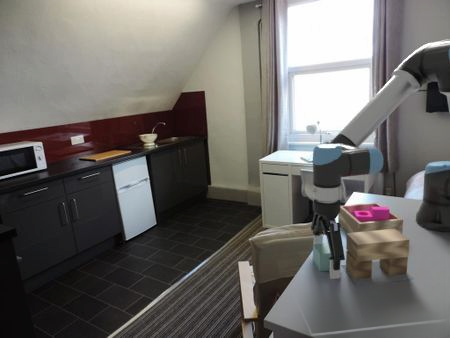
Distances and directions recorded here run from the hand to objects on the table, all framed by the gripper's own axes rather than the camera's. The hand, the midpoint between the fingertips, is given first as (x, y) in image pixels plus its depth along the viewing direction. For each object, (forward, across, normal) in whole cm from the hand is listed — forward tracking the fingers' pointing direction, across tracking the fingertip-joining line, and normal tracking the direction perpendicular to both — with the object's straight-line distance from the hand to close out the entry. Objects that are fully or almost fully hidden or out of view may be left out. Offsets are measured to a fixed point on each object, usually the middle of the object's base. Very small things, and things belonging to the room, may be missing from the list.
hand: (325, 265), depth 97 cm
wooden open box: (0, -20, +23) cm, 31 cm away
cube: (0, 0, 0) cm, 0 cm away
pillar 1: (0, +6, +7) cm, 9 cm away
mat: (0, +6, +12) cm, 14 cm away
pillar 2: (0, +6, +17) cm, 18 cm away
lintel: (-6, +6, +12) cm, 15 cm away
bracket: (0, -20, +23) cm, 31 cm away
